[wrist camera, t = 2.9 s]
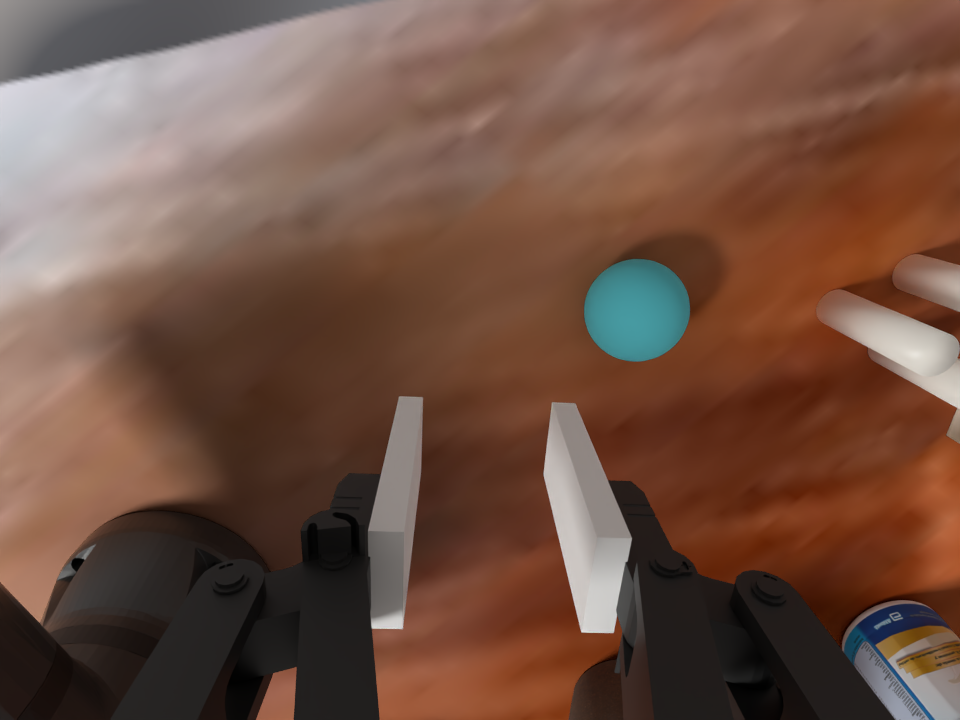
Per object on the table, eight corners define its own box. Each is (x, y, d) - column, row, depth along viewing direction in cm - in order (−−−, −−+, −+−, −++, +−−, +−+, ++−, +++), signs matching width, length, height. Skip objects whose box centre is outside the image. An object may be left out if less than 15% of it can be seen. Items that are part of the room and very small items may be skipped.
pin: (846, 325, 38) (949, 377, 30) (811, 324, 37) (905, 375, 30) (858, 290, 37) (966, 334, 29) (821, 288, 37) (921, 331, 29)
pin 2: (897, 363, 39) (1008, 423, 31) (863, 362, 39) (966, 421, 31) (909, 330, 38) (1027, 382, 30) (874, 328, 38) (983, 380, 30)
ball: (660, 343, 38) (694, 379, 32) (570, 339, 37) (589, 375, 32) (677, 252, 35) (717, 275, 30) (581, 247, 35) (604, 269, 29)
